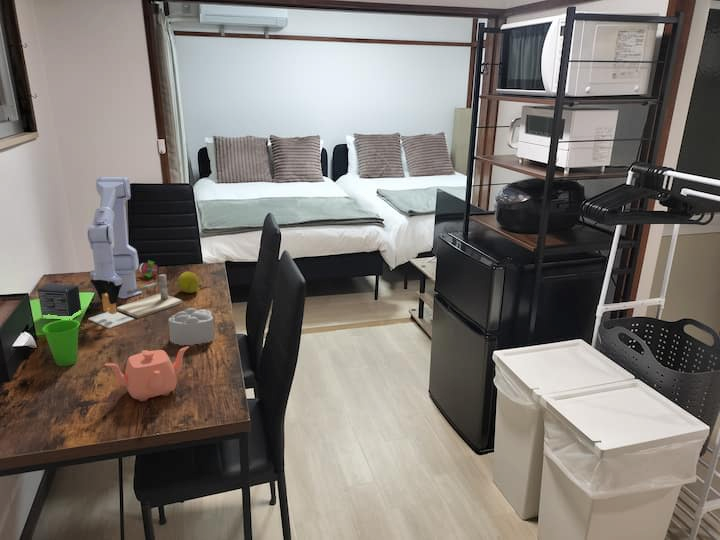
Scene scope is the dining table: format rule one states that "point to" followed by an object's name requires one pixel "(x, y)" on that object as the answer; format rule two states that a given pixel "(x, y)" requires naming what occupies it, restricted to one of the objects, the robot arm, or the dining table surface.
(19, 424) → the dining table surface
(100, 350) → the dining table surface
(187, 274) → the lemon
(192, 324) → the lumpy-topped squat cylinder
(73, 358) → the cup
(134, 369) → the teapot
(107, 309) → the c link
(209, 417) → the dining table surface
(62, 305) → the small box
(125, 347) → the dining table surface
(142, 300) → the hook stand
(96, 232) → the robot arm
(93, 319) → the grey mat
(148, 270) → the geometric puzzle
